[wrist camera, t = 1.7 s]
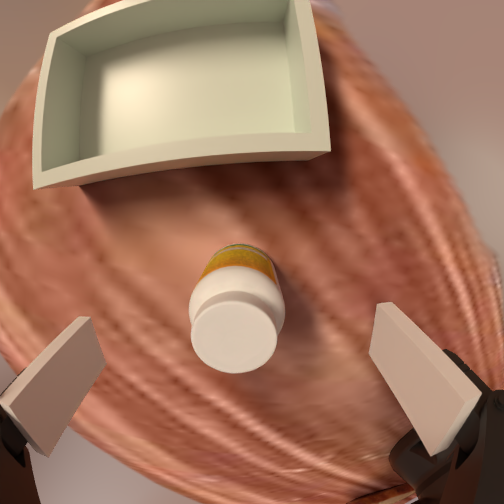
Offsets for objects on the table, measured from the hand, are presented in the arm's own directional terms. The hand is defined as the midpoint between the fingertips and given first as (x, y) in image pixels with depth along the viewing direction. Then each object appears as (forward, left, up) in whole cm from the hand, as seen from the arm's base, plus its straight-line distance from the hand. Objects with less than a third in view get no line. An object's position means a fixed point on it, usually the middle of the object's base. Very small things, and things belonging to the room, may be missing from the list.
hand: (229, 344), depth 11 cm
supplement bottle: (0, 0, -11) cm, 11 cm away
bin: (+15, +4, -10) cm, 18 cm away
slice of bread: (-56, -28, -11) cm, 64 cm away
